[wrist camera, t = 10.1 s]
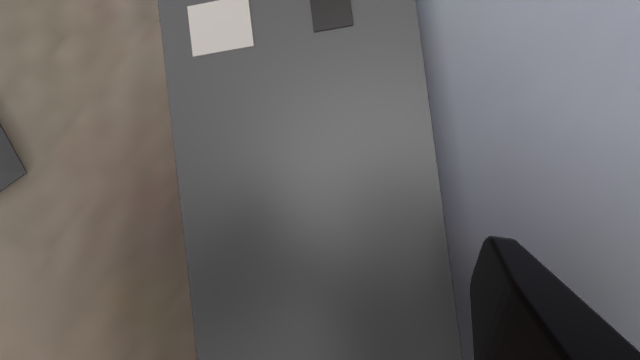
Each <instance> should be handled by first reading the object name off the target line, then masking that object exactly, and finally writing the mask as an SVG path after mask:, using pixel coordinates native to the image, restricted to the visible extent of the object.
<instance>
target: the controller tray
mask: <svg viewBox="0 0 640 360" xmlns="http://www.w3.org/2000/svg"><path fill="white" fill-rule="evenodd" d="M25 173H26V171H25V169H24V168H23V166H22V164H21V162H20V160H19V158H18V157H17V155H16V153H15V151H14V149H13V147H12V146H11V144H10V142H9V140H8V138H7V136H6V135H5V133H4V131H3V129H2V127H1V125H0V191H1V190H3V189H4V188H5V187H7V186H8V185H10V184H11V183H12V182H14V181H15V180H17V179H18V178H20V177H21V176H22V175H24V174H25Z"/></svg>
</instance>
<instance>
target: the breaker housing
mask: <svg viewBox="0 0 640 360" xmlns="http://www.w3.org/2000/svg"><path fill="white" fill-rule="evenodd" d="M158 7H159V16H160V25H161V34H162V43H163V52H164V61H165V70H166V79H167V88H168V97H169V106H170V115H171V124H172V134H173V143H174V152H175V161H176V170H177V179H178V188H179V197H180V206H181V215H182V224H183V233H184V242H185V251H186V260H187V269H188V278H189V287H190V296H191V305H192V314H193V323H194V332H195V341H196V350H197V359H198V360H462V352H461V345H460V337H459V329H458V322H457V314H456V306H455V299H454V291H453V283H452V276H451V268H450V260H449V253H448V245H447V237H446V230H445V222H444V214H443V207H442V199H441V192H440V184H439V176H438V169H437V161H436V153H435V146H434V138H433V130H432V123H431V115H430V107H429V100H428V92H427V84H426V77H425V69H424V61H423V54H422V46H421V38H420V31H419V23H418V15H417V8H416V0H158Z"/></svg>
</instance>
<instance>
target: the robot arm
mask: <svg viewBox="0 0 640 360" xmlns="http://www.w3.org/2000/svg"><path fill="white" fill-rule="evenodd" d="M470 299H471V315H472V330H473V346H474V360H640V352H639V351H638V350H637V349H636V348H635V347H634V346H633V345H632V344H630V343H629V342H628V341H627V340H626V339H625V338H624V337H623V336H622V335H620V334H619V333H618V332H617V331H616V330H615V329H614V328H613V327H612V326H610V325H609V324H608V323H607V322H606V321H605V320H604V319H603V318H602V317H600V316H599V315H598V314H597V313H596V312H595V311H594V310H593V309H592V308H590V307H589V306H588V305H587V304H586V303H585V302H584V301H583V300H582V299H580V298H579V297H578V296H577V295H576V294H575V293H574V292H573V291H571V290H570V289H569V288H568V287H567V286H566V285H565V284H564V283H563V282H561V281H560V280H559V279H558V278H557V277H556V276H555V275H554V274H553V273H551V272H550V271H549V270H548V269H547V268H546V267H545V266H544V265H543V264H541V263H540V262H539V261H538V260H537V259H536V258H535V257H534V256H533V255H531V254H530V253H529V252H528V251H527V250H526V249H525V248H524V247H523V246H521V245H520V244H519V243H518V242H517V241H516V240H514V239H510V238H502V237H494V236H489V237H488V238H486V239H485V241H484V242H483V245H482V248H481V251H480V254H479V257H478V260H477V263H476V266H475V269H474V272H473V275H472V278H471V284H470Z"/></svg>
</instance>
